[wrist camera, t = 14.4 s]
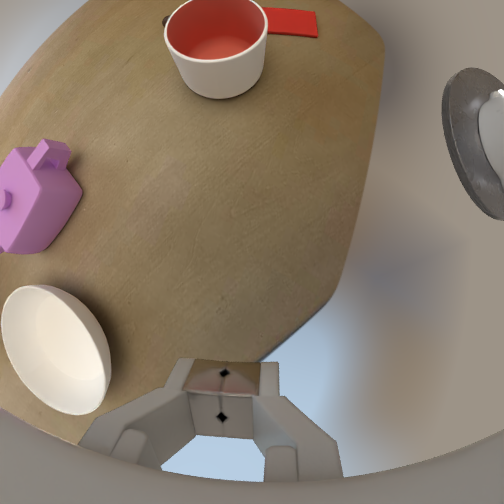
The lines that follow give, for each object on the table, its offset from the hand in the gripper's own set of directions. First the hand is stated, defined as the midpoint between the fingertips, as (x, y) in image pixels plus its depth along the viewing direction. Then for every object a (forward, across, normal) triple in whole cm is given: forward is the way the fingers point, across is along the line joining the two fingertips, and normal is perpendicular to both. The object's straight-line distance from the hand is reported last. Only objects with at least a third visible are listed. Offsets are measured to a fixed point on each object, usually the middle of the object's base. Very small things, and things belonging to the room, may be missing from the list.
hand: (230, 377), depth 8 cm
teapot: (+24, +29, -5) cm, 38 cm away
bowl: (+22, +27, +14) cm, 37 cm away
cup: (+28, +4, -21) cm, 35 cm away
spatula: (+29, +2, -29) cm, 41 cm away
